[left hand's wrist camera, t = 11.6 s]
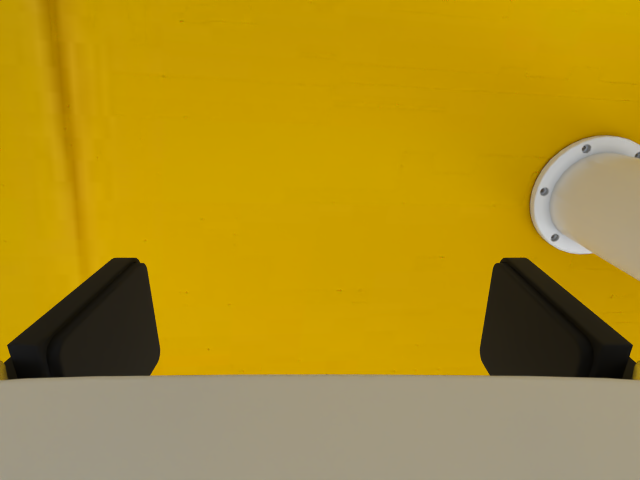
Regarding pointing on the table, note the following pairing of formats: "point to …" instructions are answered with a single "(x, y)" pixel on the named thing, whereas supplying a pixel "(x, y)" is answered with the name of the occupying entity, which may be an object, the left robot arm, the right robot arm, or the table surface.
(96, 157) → the table surface
